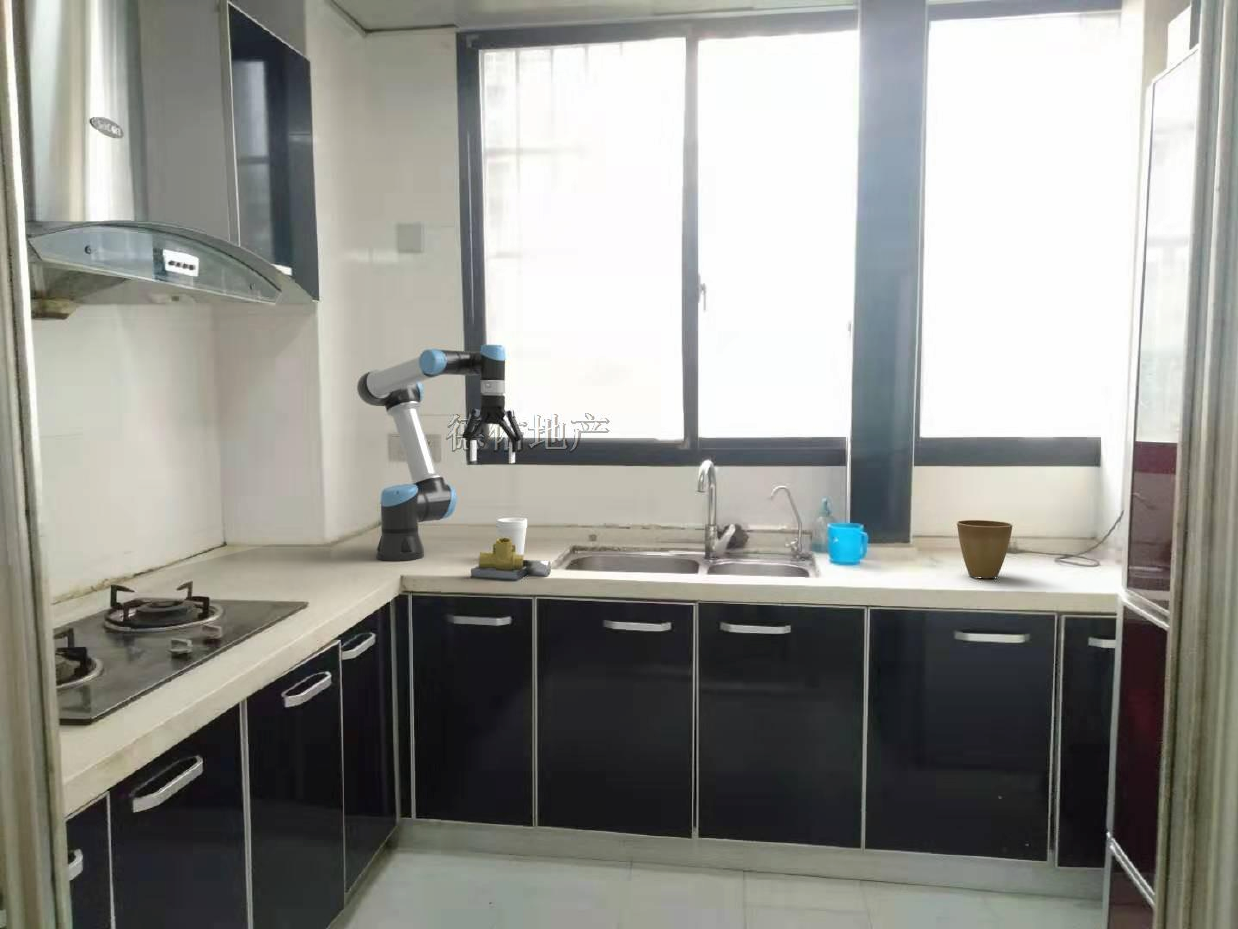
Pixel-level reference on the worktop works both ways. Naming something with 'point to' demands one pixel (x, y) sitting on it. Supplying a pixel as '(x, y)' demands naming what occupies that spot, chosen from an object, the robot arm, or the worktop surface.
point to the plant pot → (984, 546)
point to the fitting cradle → (528, 569)
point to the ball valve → (502, 556)
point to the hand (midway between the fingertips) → (492, 462)
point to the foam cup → (514, 532)
